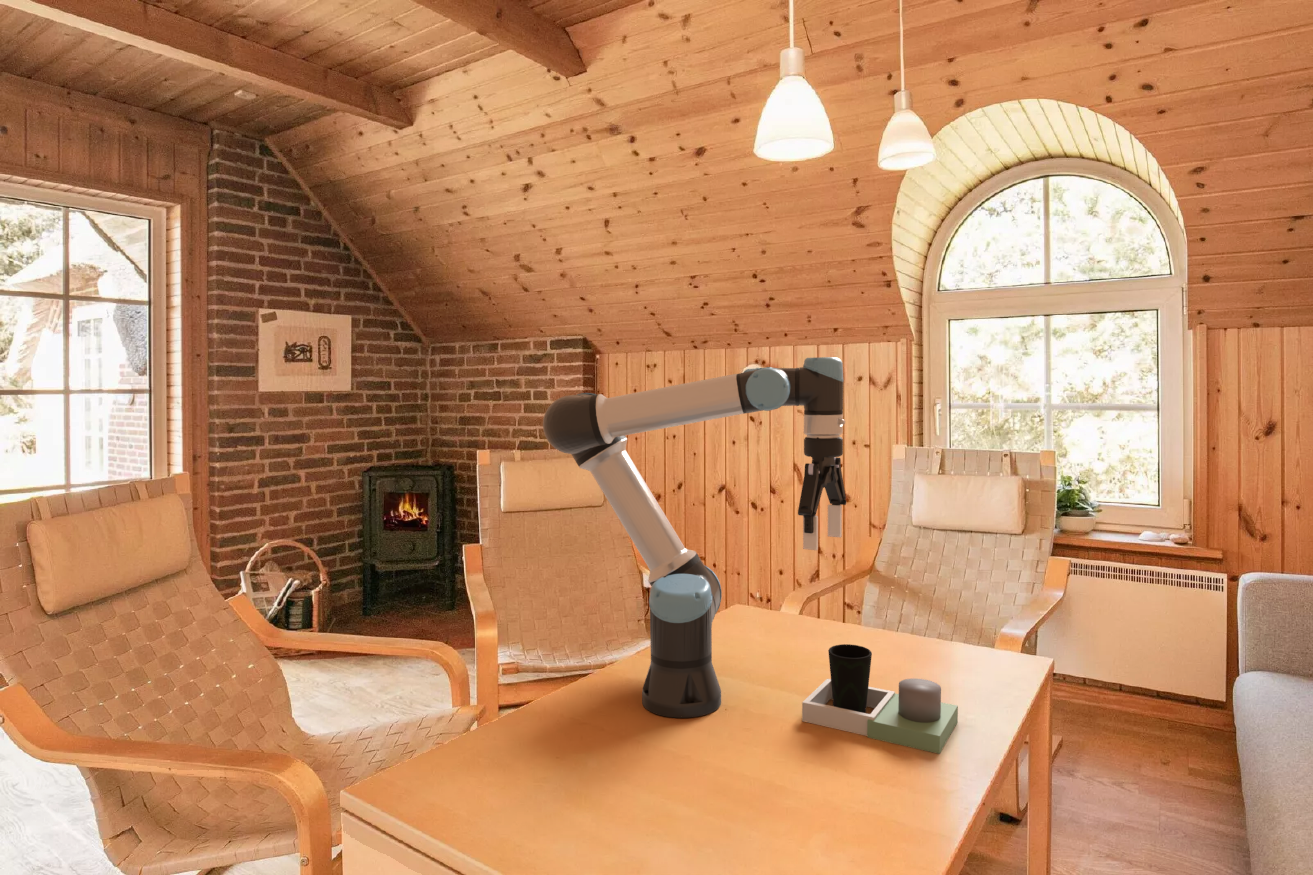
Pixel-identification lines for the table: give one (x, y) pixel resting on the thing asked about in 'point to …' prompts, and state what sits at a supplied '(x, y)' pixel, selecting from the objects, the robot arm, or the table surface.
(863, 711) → the cup
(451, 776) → the table surface
